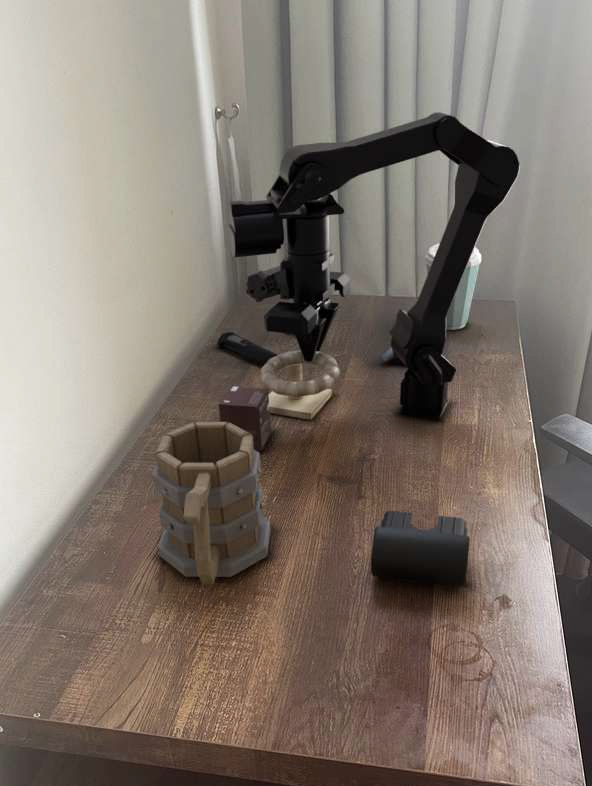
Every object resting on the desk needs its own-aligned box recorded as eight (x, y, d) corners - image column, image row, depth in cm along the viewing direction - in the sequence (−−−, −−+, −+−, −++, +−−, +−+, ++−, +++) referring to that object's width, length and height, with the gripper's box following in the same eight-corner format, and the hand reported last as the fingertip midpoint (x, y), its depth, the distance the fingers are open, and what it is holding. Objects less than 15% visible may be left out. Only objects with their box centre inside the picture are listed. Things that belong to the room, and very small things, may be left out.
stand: (331, 395, 121) (331, 355, 118) (311, 420, 115) (309, 377, 111) (281, 388, 124) (279, 347, 121) (258, 411, 118) (255, 369, 114)
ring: (349, 365, 107) (349, 352, 106) (324, 403, 99) (323, 391, 98) (279, 356, 110) (278, 344, 109) (249, 393, 102) (247, 380, 101)
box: (261, 452, 107) (258, 406, 103) (221, 448, 108) (217, 403, 104) (272, 432, 112) (269, 387, 108) (233, 429, 113) (229, 385, 109)
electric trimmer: (266, 373, 130) (266, 356, 128) (215, 347, 140) (214, 331, 138) (283, 366, 132) (282, 350, 131) (231, 342, 142) (230, 326, 140)
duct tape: (435, 368, 130) (436, 352, 128) (378, 367, 131) (379, 351, 129) (434, 351, 136) (435, 336, 134) (379, 350, 137) (380, 335, 135)
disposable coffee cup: (480, 334, 142) (488, 255, 134) (424, 335, 143) (428, 257, 135) (470, 314, 151) (477, 240, 143) (418, 315, 152) (422, 241, 143)
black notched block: (370, 592, 81) (371, 542, 77) (379, 552, 86) (380, 505, 83) (462, 604, 79) (468, 554, 75) (465, 562, 85) (471, 514, 81)
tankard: (174, 513, 94) (158, 408, 86) (272, 513, 94) (266, 407, 86) (138, 623, 77) (114, 506, 69) (258, 624, 77) (248, 505, 69)
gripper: (279, 228, 109) (284, 329, 117) (223, 265, 94) (233, 377, 103) (351, 233, 105) (351, 337, 114) (304, 272, 91) (308, 387, 99)
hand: (311, 358), depth 107 cm, fingers closed on ring, 2 cm apart
